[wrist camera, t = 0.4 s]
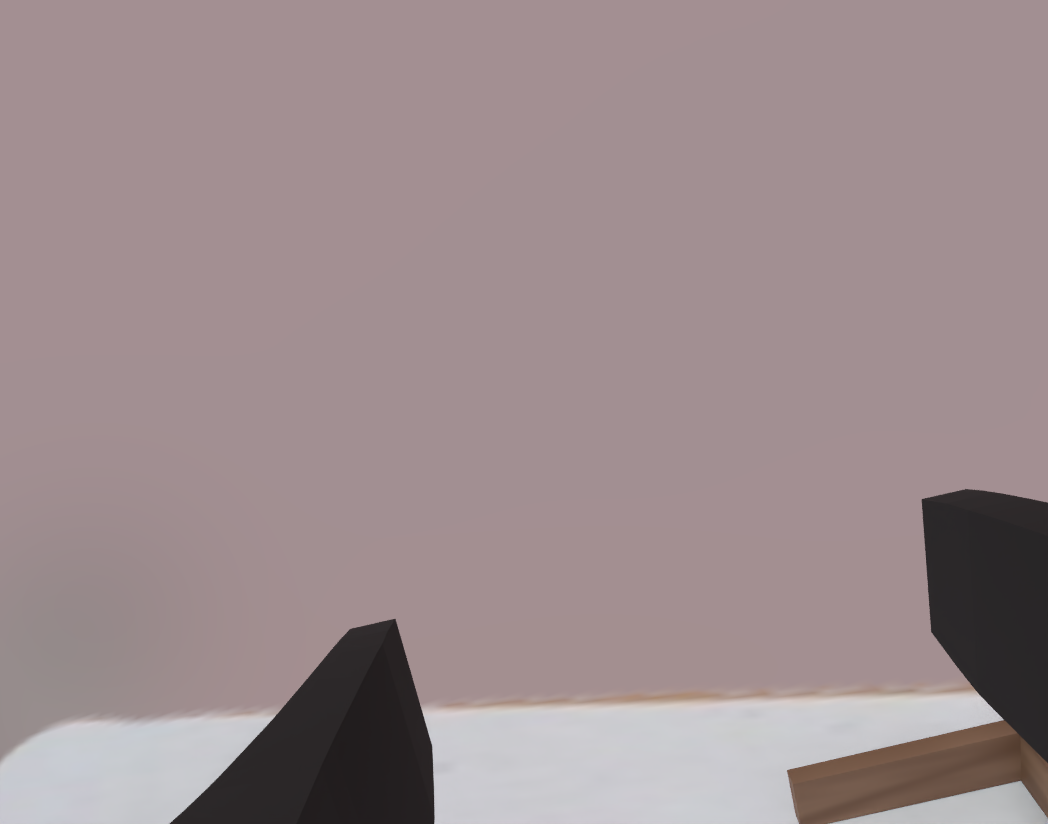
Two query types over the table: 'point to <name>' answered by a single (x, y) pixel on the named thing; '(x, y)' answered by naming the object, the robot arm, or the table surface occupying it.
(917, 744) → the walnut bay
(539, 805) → the table surface
